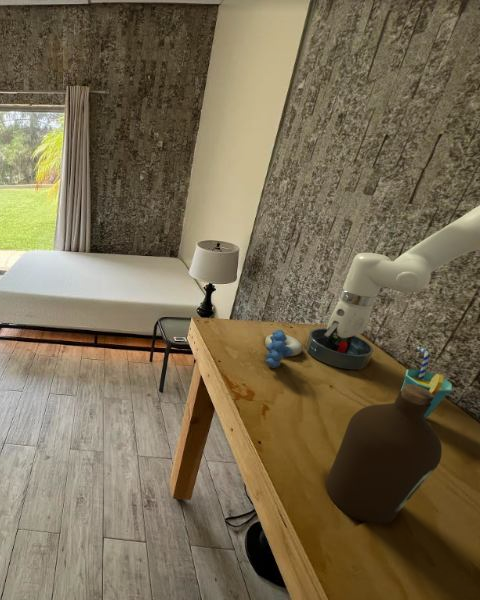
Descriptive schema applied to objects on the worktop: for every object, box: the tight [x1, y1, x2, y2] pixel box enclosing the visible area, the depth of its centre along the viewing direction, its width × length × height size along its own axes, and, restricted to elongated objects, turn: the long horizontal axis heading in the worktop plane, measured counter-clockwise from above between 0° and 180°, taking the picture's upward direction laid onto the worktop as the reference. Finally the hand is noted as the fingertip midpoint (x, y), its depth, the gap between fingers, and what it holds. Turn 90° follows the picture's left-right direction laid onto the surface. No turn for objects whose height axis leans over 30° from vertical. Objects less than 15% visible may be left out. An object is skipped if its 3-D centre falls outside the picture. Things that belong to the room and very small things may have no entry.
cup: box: [400, 346, 453, 420], centre depth 72 cm, size 14×8×15 cm, turn 156°
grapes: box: [265, 329, 293, 368], centre depth 89 cm, size 12×7×12 cm, turn 152°
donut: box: [264, 333, 303, 357], centre depth 99 cm, size 10×4×10 cm
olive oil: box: [325, 384, 443, 524], centre depth 51 cm, size 11×11×25 cm
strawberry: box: [334, 335, 347, 353], centre depth 95 cm, size 4×4×6 cm
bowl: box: [304, 327, 375, 370], centre depth 95 cm, size 15×15×5 cm
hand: (335, 351), depth 96 cm, fingers closed on strawberry, 4 cm apart
